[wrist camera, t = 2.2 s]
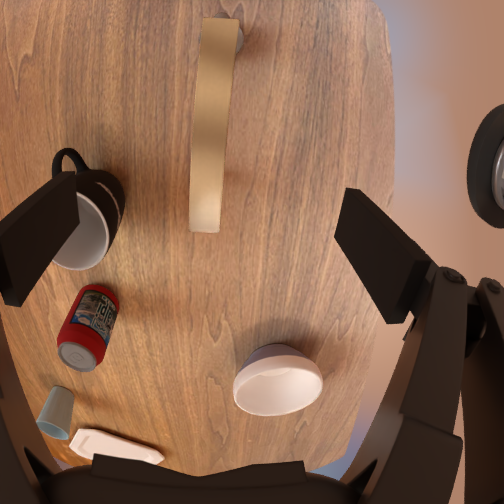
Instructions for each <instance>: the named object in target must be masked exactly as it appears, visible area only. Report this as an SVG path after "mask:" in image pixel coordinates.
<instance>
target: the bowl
mask: <svg viewBox="0 0 504 504" xmlns="http://www.w3.org/2000/svg"><path fill="white" fill-rule="evenodd" d="M322 389H323V379H322V375H321V373H320V371H319V368H318V367H317V365H316V364H315V363H314V362H313V361H311V360H310V359H309V358H308V357H306V356H305V355H304V354H303V353H301V352H299V351H297V350H295V349H294V348H292V347H290V346H288V345H284V344H271V345H266V346H263V347H261V348H259V349H257V350H256V351H254V352H253V353H252V354H251V356H250V357H249V358H248V359H247V360H246V361H245V362H244V364H243V366H242V368H241V369H240V370H239V372H238V374H237V376H236V378H235V380H234V383H233V395H234V400H235V402H236V404H237V405H238V406H239V407H240V408H241V409H243V410H244V411H246V412H249V413H251V414H255V415H261V416H278V415H284V414H289V413H292V412H295V411H298V410H300V409H302V408H304V407H306V406H308V405H309V404H311V403H312V402H313V401H315V400H316V398H317V397H318V396H319V395H320V393H321V392H322Z"/></svg>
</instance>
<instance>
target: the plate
mask: <svg viewBox="0 0 504 504" xmlns="http://www.w3.org/2000/svg"><path fill="white" fill-rule="evenodd" d="M69 447H70V448H71V449H72V450H73V451H74V452H76V453H77V454H78V455H80V456H83V457H86V458H88V459H91V460H93V454H94V453H97V454H103V455H108V456H114V457H121V458H128V459H135V460H143V461H146V462H149V463H152V464H155V465H156V464H158V463H159V462H161V461H162V460H164V459H165V457H164V456H163V455H162V454H161V453H160V452H159V451H157V450H155V449H153V448H150V447H148V446H145V445H142V444H139V443H136V442H133V441H130V440H127V439H124V438H121V437H118V436H116V435H113V434H110V433H107V432H105V431H102V430H96V429H78V431H77V433H76V434H75V436H74V438H73V440H72V442H71V443H70V445H69Z"/></svg>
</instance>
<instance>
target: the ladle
mask: <svg viewBox="0 0 504 504" xmlns="http://www.w3.org/2000/svg"><path fill="white" fill-rule="evenodd" d="M239 22H240V20H238V19H230V17H229V15H228V14H226V13H218V14H216V15H215V16H214V17H213V18H205V17H204V18H203V24H202V31H201V34H200V37H199V43H200V50H199V59H198V70H197V80H196V92H195V104H194V117H193V132H192V149H191V169H190V195H189V232H204V233H220V219H221V205H222V192H223V179H224V167H225V155H226V144H227V133H228V122H229V112H230V102H231V92H232V82H233V73H234V64H235V55H236V54H237V53H238V52H239V51H240V49H241V47H242V45H243V42H244V35H243V32H242V30H241V28H240V27H239Z"/></svg>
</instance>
